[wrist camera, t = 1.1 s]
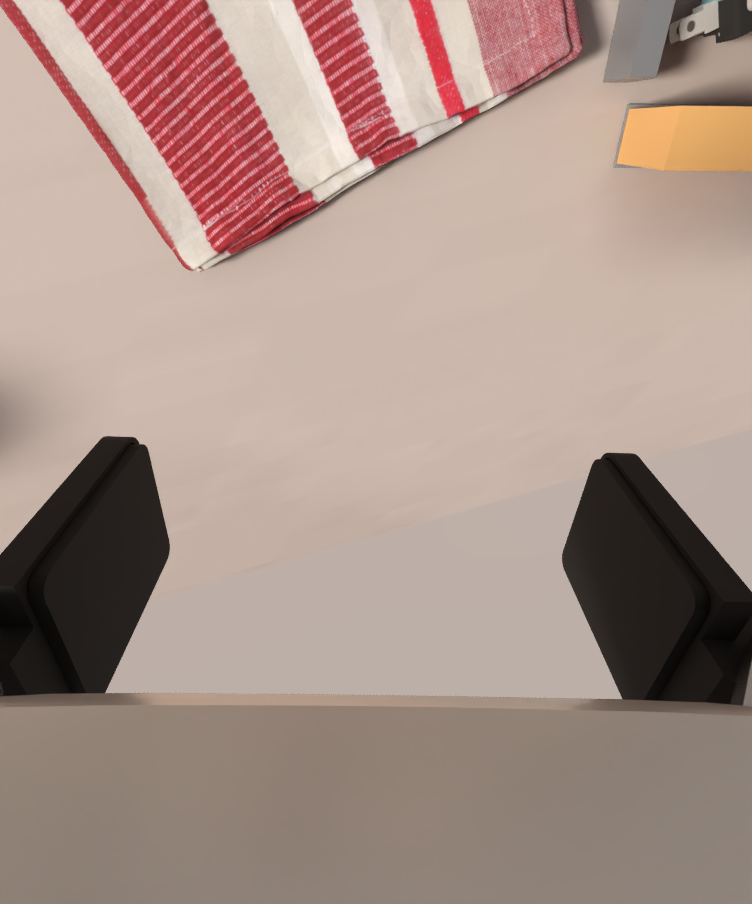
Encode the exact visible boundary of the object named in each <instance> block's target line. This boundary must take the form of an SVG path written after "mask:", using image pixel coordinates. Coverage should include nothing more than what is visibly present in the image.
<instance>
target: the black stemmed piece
mask: <svg viewBox="0 0 752 904" xmlns="http://www.w3.org/2000/svg"><path fill="white" fill-rule="evenodd" d="M678 26H679V35H678V34H677V33H676V30H677V27H678ZM702 33H703V35H704V37H706V36H709V35H713V34H716V43H720V42H725V41H729V40H733V39H736V38H738V37H741V36H743V35H745V34H749V33H752V0H702V5H700V6H698V7H696V8H694V9H692V14H690V15H688V16H686V17H684V18H682V19H680V20H678V21H676V22H673V23H671V24H670V25H669V41H670V43H671V44H673V43H675V42H677V41H679V40H681V41H684V40H686V39H688V38H690V37H692V36H694V37H695V36H698V35H700V34H702Z"/></svg>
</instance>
